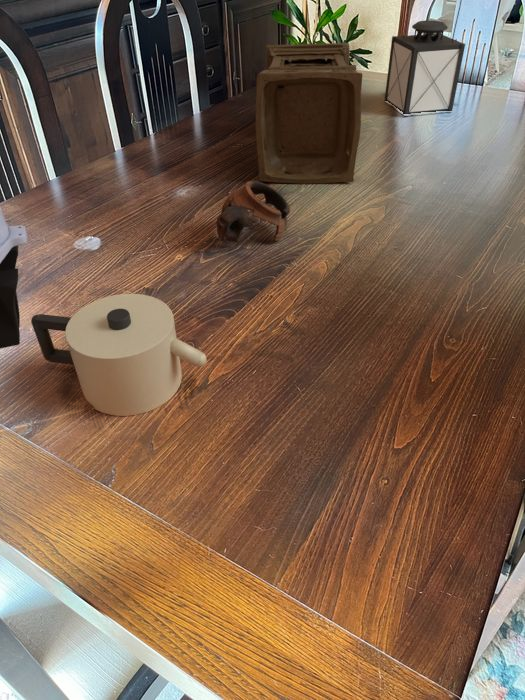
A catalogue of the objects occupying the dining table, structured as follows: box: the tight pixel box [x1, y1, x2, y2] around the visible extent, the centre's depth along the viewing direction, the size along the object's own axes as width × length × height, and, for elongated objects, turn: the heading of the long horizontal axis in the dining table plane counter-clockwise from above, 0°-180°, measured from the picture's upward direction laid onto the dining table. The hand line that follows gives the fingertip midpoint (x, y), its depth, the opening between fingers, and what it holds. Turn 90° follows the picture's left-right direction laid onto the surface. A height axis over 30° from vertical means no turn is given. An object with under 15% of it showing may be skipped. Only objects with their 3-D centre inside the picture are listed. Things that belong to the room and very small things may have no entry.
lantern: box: [384, 0, 466, 114], centre depth 114 cm, size 11×11×28 cm
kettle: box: [30, 293, 208, 417], centre depth 52 cm, size 17×10×8 cm, turn 79°
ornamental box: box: [255, 42, 363, 185], centre depth 100 cm, size 35×18×18 cm, turn 177°
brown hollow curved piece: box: [215, 180, 291, 243], centre depth 77 cm, size 12×10×8 cm
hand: (7, 336), depth 47 cm, fingers closed
